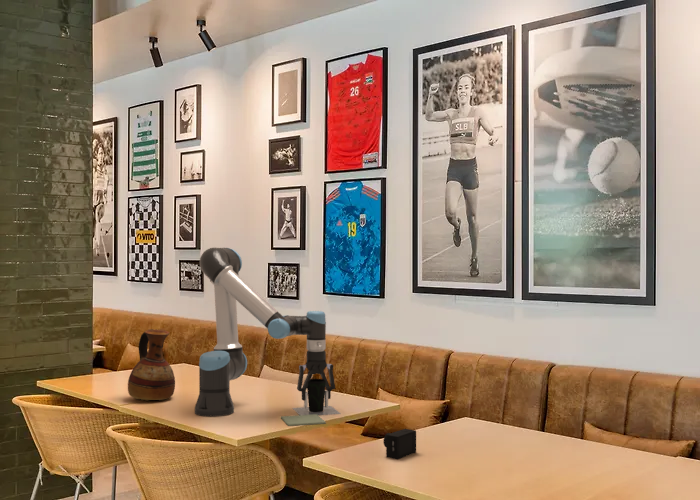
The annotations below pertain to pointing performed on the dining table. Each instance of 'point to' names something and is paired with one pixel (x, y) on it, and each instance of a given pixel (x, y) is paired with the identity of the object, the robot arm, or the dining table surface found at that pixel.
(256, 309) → the robot arm
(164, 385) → the ceramic pitcher
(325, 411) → the tile
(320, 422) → the mat
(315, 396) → the cup
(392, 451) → the digital camera
